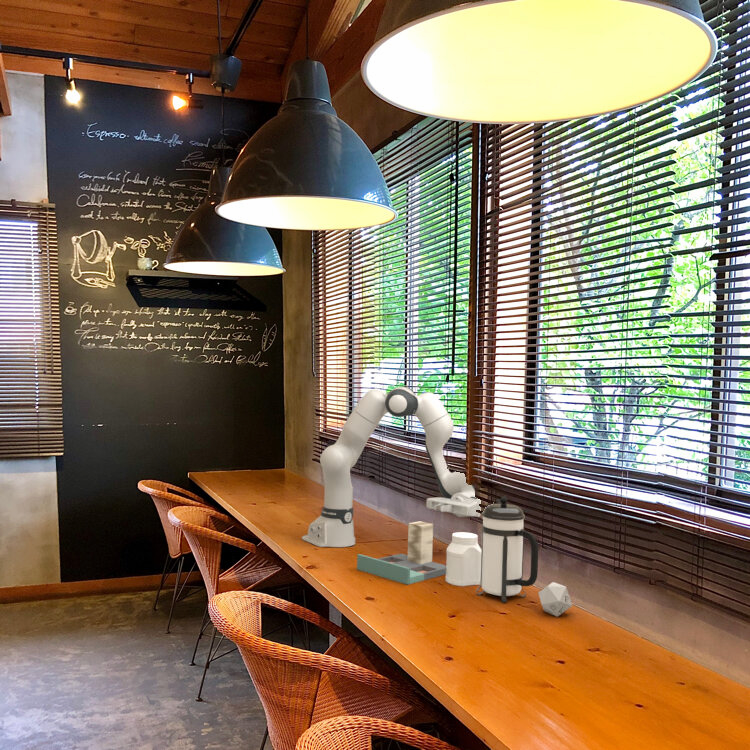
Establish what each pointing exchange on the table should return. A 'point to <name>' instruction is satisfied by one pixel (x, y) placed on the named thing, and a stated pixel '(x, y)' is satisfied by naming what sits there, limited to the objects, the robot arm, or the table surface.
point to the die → (555, 599)
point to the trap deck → (400, 568)
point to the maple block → (420, 542)
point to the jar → (463, 560)
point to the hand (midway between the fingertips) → (438, 508)
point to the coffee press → (505, 551)
